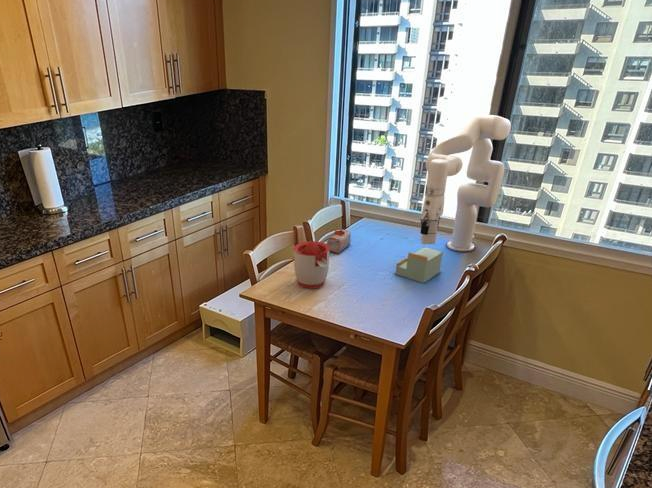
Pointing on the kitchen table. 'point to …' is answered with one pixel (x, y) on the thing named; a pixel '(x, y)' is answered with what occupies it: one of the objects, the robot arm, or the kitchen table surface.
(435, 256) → the stepped box
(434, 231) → the syrup box
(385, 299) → the kitchen table surface
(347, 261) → the kitchen table surface
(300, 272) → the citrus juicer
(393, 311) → the kitchen table surface
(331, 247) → the food item
